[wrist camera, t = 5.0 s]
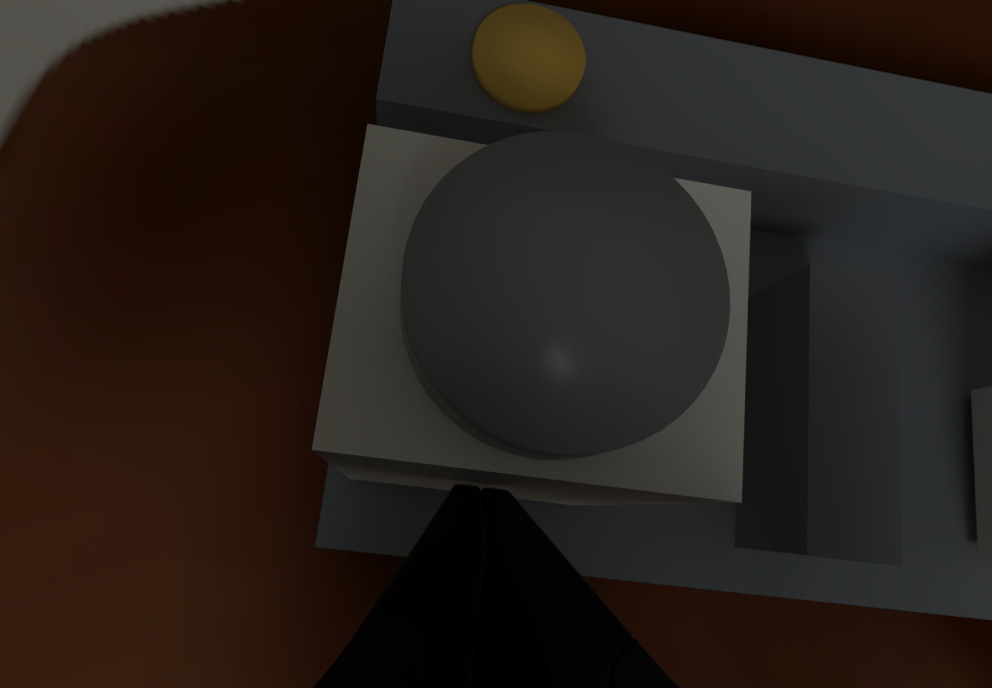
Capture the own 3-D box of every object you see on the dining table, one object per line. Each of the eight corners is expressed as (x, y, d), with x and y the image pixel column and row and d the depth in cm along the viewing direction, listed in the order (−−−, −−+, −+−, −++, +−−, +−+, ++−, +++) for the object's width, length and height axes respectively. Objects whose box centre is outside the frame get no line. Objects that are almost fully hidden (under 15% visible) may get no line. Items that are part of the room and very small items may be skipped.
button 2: (573, 505, 16) (787, 502, 8) (348, 478, 16) (301, 441, 7) (587, 333, 17) (792, 155, 9) (376, 302, 17) (365, 77, 8)
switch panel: (1095, 626, 20) (1340, 667, 15) (323, 542, 18) (296, 556, 12) (1064, 222, 23) (1260, 139, 18) (394, 101, 20) (397, -36, 15)
